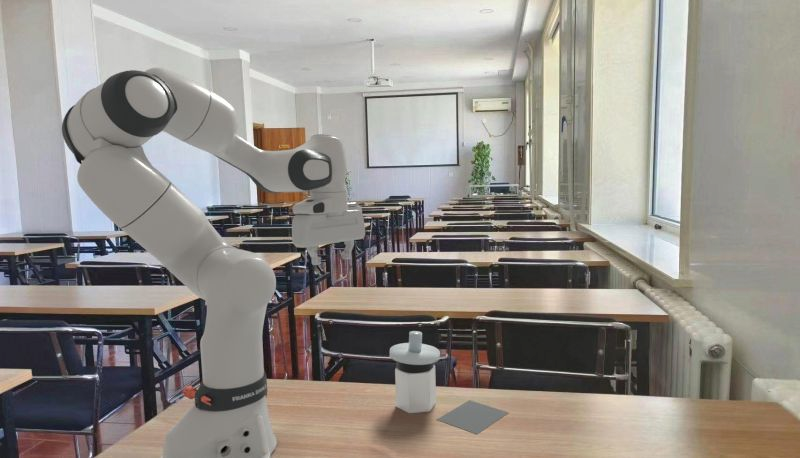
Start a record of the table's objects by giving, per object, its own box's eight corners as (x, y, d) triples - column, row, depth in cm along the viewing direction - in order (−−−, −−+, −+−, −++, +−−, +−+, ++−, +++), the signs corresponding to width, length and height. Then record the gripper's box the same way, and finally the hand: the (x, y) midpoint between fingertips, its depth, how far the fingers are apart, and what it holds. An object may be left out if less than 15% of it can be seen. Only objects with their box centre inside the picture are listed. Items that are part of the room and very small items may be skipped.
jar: (443, 408, 116) (442, 355, 115) (415, 420, 111) (414, 365, 110) (417, 396, 123) (415, 346, 122) (389, 406, 118) (387, 354, 117)
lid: (417, 368, 108) (419, 344, 107) (379, 355, 115) (380, 331, 115) (449, 357, 116) (451, 333, 116) (411, 344, 123) (412, 323, 123)
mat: (476, 438, 103) (476, 434, 103) (436, 423, 109) (436, 419, 109) (508, 416, 112) (508, 412, 111) (469, 403, 118) (469, 400, 118)
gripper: (352, 201, 135) (354, 255, 137) (286, 206, 120) (289, 266, 122) (369, 201, 131) (371, 257, 133) (303, 207, 116) (306, 269, 117)
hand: (331, 261), depth 127 cm, fingers open, 8 cm apart
